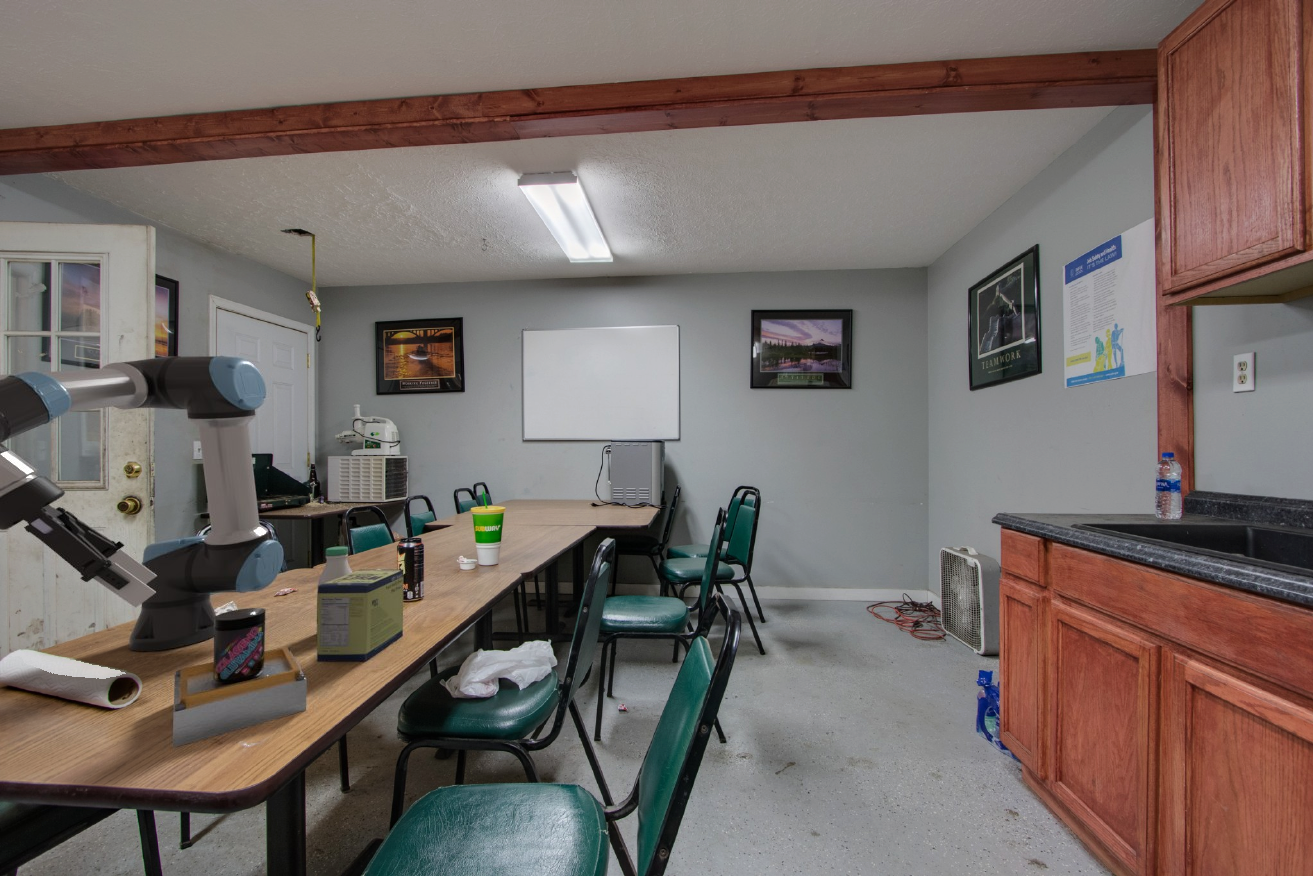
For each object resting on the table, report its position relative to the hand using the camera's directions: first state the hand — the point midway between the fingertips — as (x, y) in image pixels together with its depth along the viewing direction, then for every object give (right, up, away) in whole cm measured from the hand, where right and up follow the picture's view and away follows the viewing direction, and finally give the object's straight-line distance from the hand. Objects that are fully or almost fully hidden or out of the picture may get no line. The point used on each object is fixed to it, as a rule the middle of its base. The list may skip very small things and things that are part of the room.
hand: (147, 590), depth 80 cm
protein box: (+15, -22, +32) cm, 42 cm away
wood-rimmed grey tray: (+10, -21, +6) cm, 24 cm away
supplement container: (+10, -16, +6) cm, 20 cm away
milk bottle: (+3, -23, +43) cm, 48 cm away
